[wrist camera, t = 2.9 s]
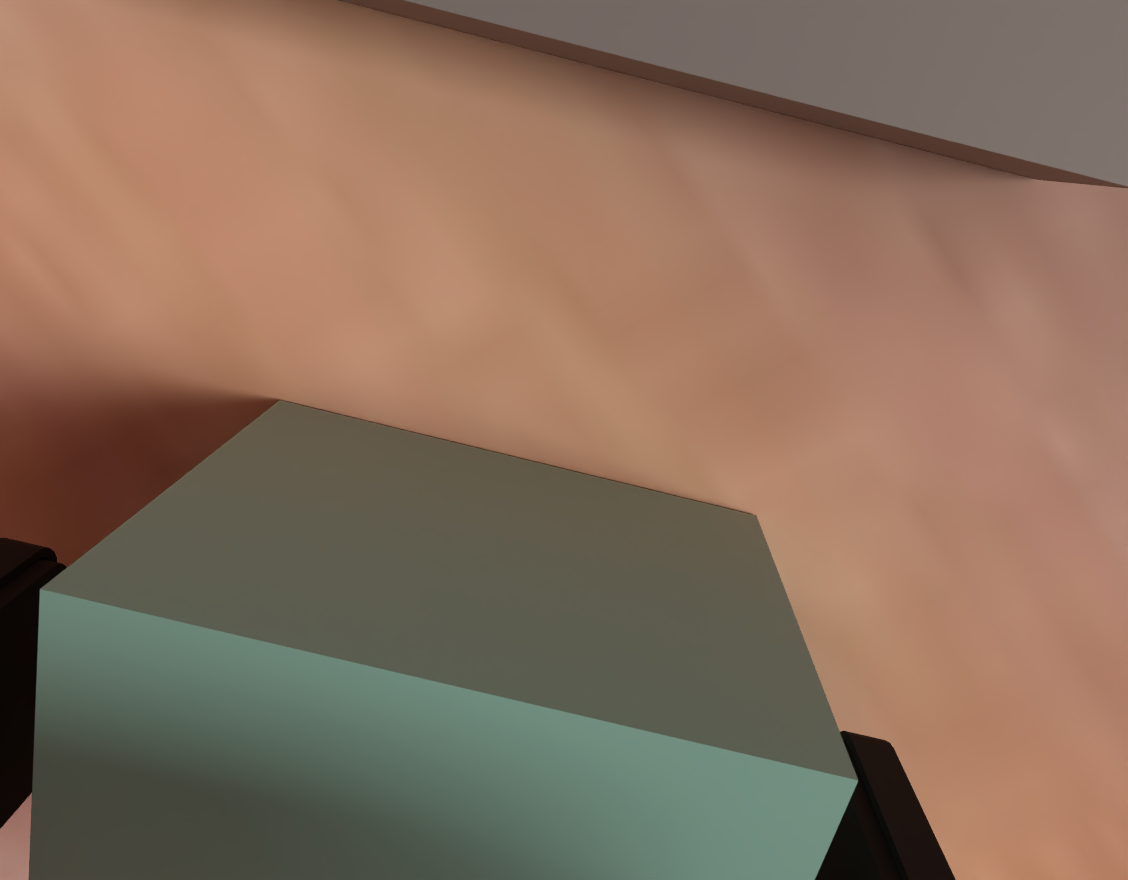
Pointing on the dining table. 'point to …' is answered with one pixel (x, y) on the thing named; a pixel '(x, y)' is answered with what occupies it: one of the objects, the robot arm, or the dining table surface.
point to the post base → (862, 66)
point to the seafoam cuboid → (425, 677)
